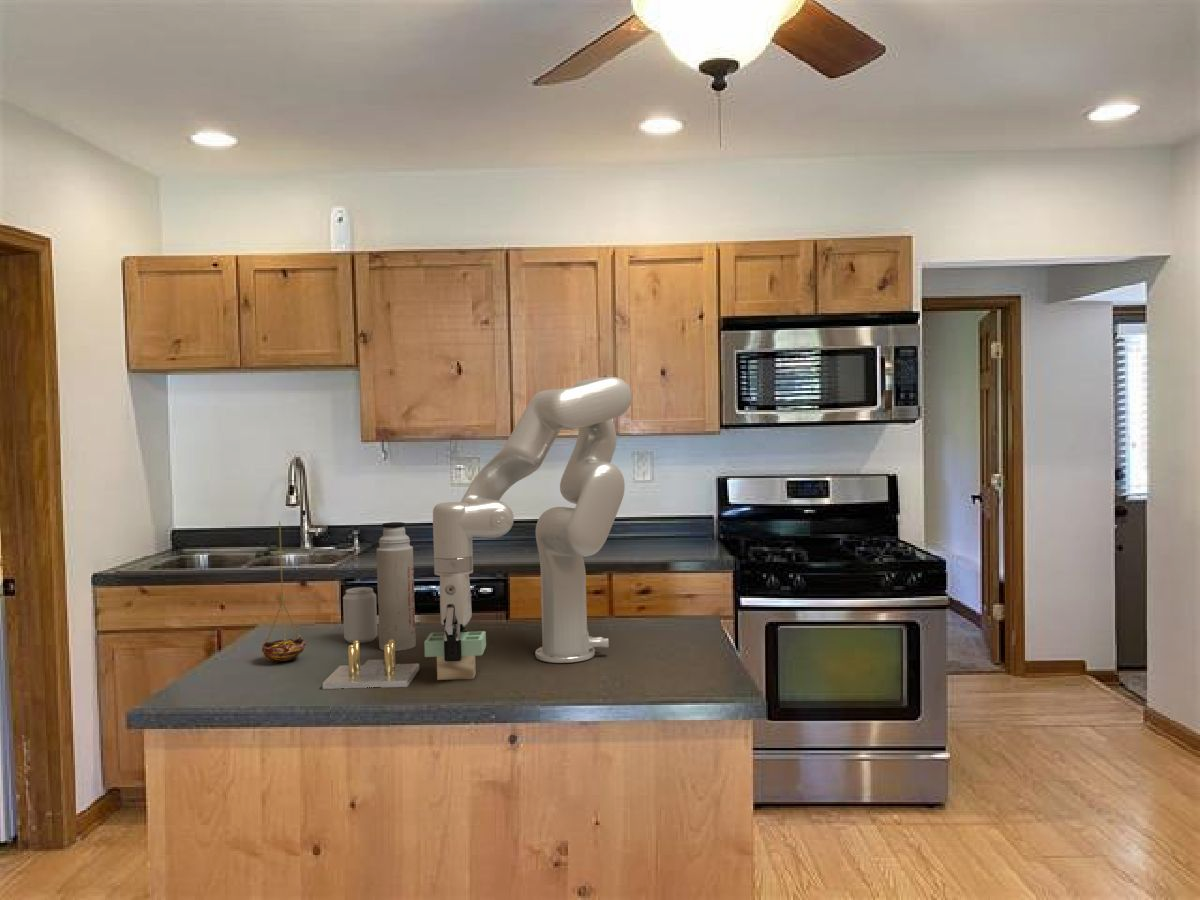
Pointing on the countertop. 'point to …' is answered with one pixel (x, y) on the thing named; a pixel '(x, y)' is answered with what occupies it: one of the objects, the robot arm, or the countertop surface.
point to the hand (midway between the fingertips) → (456, 654)
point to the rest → (456, 668)
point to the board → (469, 644)
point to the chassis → (371, 671)
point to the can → (360, 615)
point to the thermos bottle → (396, 588)
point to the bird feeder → (286, 647)
